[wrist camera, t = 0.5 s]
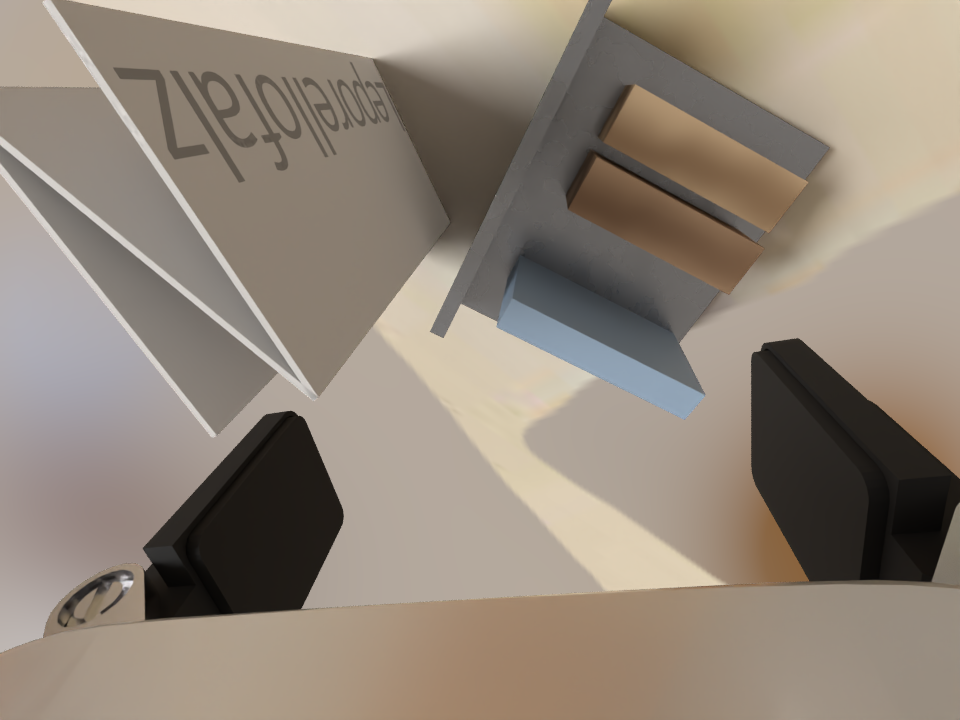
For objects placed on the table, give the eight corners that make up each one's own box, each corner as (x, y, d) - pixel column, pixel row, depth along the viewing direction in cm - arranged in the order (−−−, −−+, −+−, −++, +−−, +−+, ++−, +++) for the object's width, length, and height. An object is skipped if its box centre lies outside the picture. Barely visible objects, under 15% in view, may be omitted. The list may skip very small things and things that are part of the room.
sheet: (520, 254, 46) (512, 298, 36) (673, 333, 47) (705, 395, 38) (507, 278, 47) (496, 327, 37) (657, 354, 49) (684, 419, 39)
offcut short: (625, 85, 39) (635, 84, 34) (780, 172, 40) (808, 182, 36) (597, 136, 41) (603, 142, 36) (746, 218, 42) (769, 233, 38)
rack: (585, 9, 38) (595, -14, 30) (823, 146, 40) (891, 159, 32) (449, 293, 49) (430, 331, 41) (639, 387, 52) (655, 441, 44)
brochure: (451, 223, 46) (319, 399, 20) (398, 247, 48) (212, 439, 21) (372, 58, 41) (48, -4, 14) (316, 91, 42) (-67, 90, 16)
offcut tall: (590, 149, 41) (596, 157, 36) (737, 229, 43) (764, 248, 37) (565, 195, 43) (567, 209, 38) (707, 270, 44) (728, 294, 39)
